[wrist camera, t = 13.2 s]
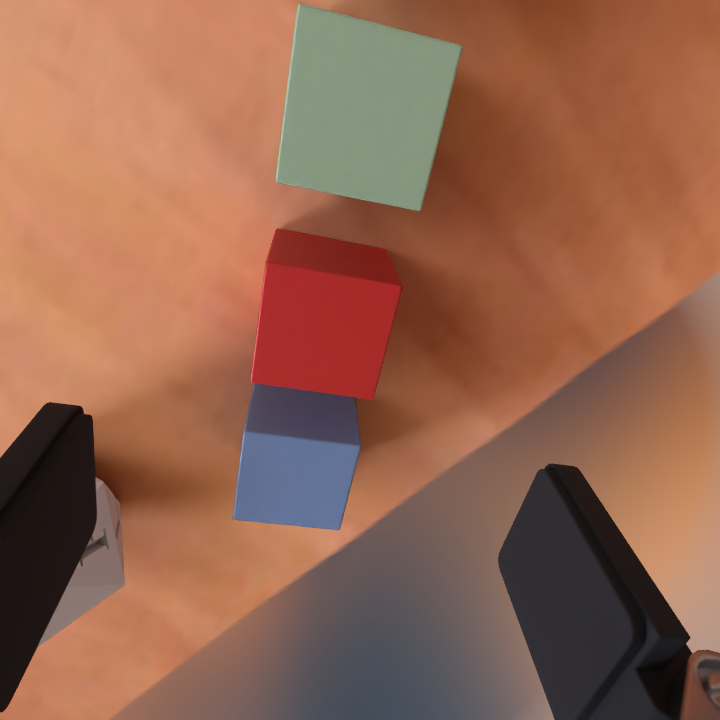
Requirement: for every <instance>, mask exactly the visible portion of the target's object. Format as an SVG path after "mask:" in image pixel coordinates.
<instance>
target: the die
mask: <svg viewBox="0 0 720 720" xmlns="http://www.w3.org/2000/svg"><path fill="white" fill-rule="evenodd" d="M95 478H96V477H95ZM96 500H97V521H96V526H95V529H94V532H93V535H92V537H91V539H90V541H89V543H88V545H87V547H86V549H85V551H84V553H83V555H82V557H81V559H80V561H79V563H78V565H77V567H76V569H75V571H74V573H73V575H72V577H71V579H70V582H69V584H68V586H67V588H66V590H65V592H64V594H63V596H62V598H61V600H60V602H59V604H58V606H57V608H56V610H55V612H54V614H53V616H52V618H51V620H50V622H49V624H48V626H47V628H46V630H45V632H44V634H43V636H42V639H41V641H40V643H39V645H38V646H40V645H41V644H42V643H44V642H45V641H47V640H48V639H50V638H51V637H52V636H54V635H55V634H57V633H58V632H59V631H61V630H62V629H64V628H65V627H66V626H68V625H69V624H71V623H72V622H73V621H75V620H76V619H78V618H79V617H80V616H82V615H83V614H85V613H86V612H88V611H89V610H90V609H92V608H93V607H95V606H96V605H97V604H99V603H100V602H102V601H103V600H104V599H106V598H107V597H109V596H110V595H111V594H113V593H114V592H116V591H117V590H119V589H120V588H121V587H123V586H124V585H125V576H124V559H123V543H122V527H121V511H120V503H119V501H118V500H117V499H116V497H114V495H113V493H112V492H111V491H110V490H109V488H108V487H107V486H106V484H105V483H104V482H103V481H102V480H100V479H98V478H96Z"/></svg>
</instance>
